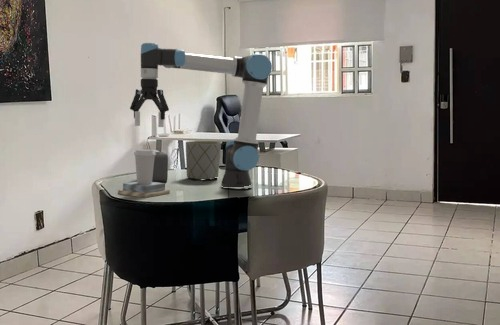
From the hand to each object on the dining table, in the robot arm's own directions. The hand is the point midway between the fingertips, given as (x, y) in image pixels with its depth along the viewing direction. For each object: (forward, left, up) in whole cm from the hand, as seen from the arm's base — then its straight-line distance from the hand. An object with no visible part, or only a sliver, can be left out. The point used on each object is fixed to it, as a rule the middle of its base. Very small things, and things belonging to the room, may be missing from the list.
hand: (149, 126), depth 254 cm
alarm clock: (+24, -31, -30) cm, 49 cm away
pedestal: (-1, +4, -30) cm, 30 cm away
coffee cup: (-1, +4, -25) cm, 26 cm away
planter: (+10, -55, -30) cm, 63 cm away
